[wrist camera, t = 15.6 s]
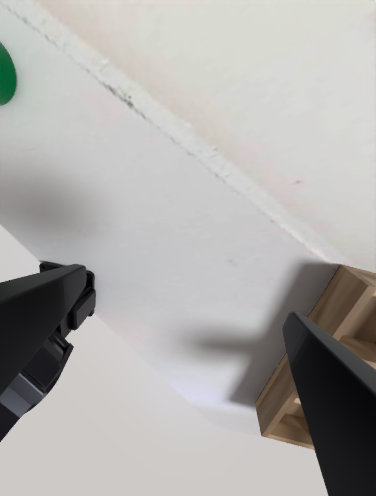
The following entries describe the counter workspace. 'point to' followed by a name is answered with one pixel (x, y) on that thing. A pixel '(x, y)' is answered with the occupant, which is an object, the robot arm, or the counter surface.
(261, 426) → the slot crate
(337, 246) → the counter surface
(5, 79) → the soda can
